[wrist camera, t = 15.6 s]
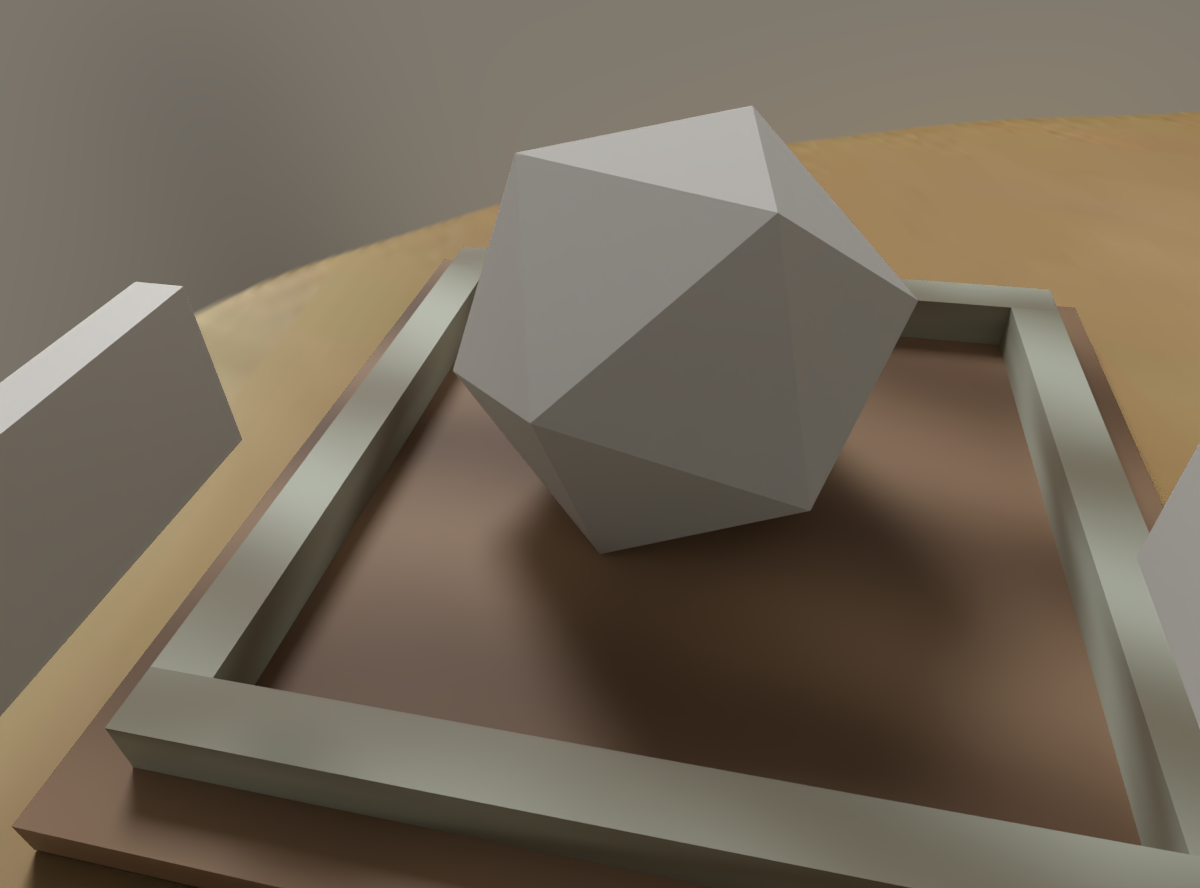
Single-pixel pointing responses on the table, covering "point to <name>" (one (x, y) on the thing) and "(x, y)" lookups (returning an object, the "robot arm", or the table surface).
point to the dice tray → (670, 654)
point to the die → (677, 327)
